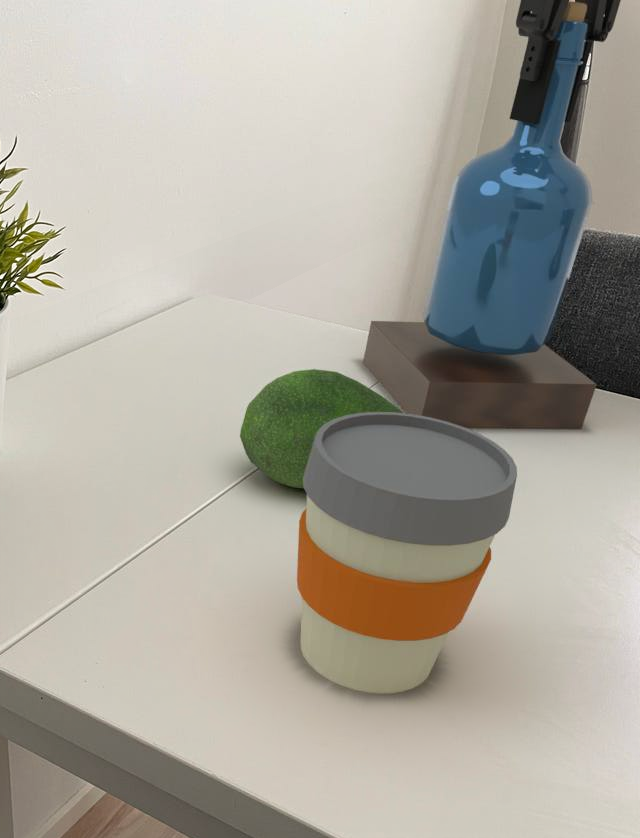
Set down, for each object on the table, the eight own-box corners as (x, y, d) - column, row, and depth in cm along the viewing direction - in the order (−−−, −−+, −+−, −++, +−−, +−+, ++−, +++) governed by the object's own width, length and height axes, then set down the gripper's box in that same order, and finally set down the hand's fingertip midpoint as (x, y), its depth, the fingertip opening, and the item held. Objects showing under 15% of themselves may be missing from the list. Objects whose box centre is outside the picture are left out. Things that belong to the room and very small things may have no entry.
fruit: (401, 472, 92) (427, 367, 86) (406, 523, 84) (434, 411, 78) (240, 449, 93) (254, 345, 88) (229, 497, 85) (244, 385, 80)
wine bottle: (547, 368, 99) (658, 13, 81) (413, 345, 102) (492, -4, 84) (547, 328, 110) (645, 6, 92) (426, 308, 112) (498, -8, 95)
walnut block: (506, 366, 118) (518, 324, 115) (581, 430, 104) (597, 384, 101) (362, 363, 115) (371, 320, 112) (418, 429, 101) (430, 381, 98)
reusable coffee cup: (242, 619, 70) (272, 420, 62) (388, 590, 75) (436, 402, 66) (336, 730, 61) (387, 515, 53) (496, 690, 66) (568, 486, 57)
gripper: (640, -189, 87) (557, 110, 101) (523, -219, 77) (450, 116, 91) (723, -190, 82) (625, 124, 96) (610, -222, 73) (519, 131, 86)
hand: (540, 119), depth 93 cm, fingers closed on wine bottle, 4 cm apart
